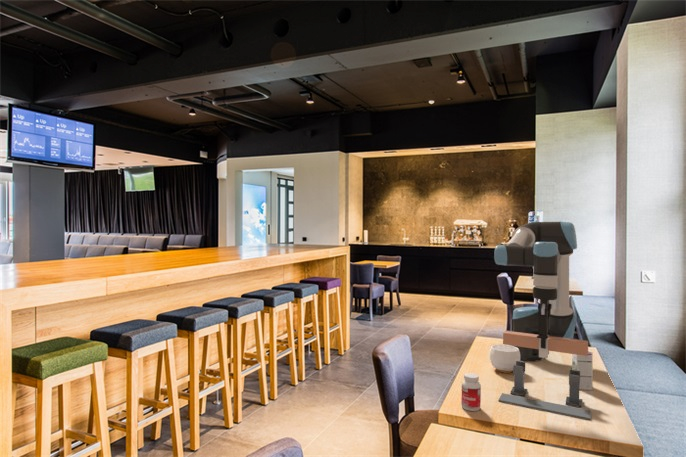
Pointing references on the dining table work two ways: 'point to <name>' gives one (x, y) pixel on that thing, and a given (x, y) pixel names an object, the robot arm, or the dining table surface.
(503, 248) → the robot arm
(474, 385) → the pill bottle
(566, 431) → the dining table surface
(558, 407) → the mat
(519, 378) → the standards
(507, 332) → the rail
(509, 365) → the cup
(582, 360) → the syrup box
